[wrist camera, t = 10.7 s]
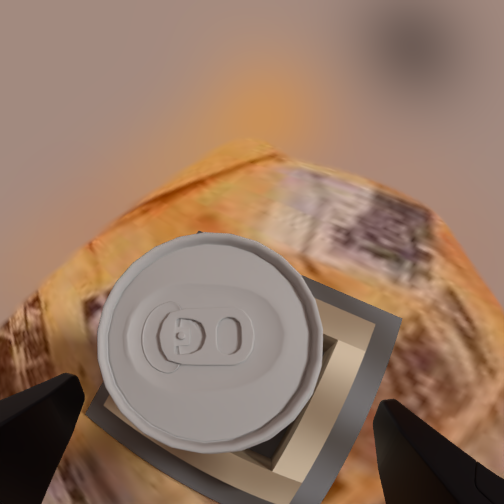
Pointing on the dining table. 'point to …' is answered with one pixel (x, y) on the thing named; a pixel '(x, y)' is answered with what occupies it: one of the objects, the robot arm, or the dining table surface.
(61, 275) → the dining table surface
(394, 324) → the can collar
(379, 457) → the robot arm
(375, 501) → the dining table surface
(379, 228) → the dining table surface
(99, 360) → the beverage can
